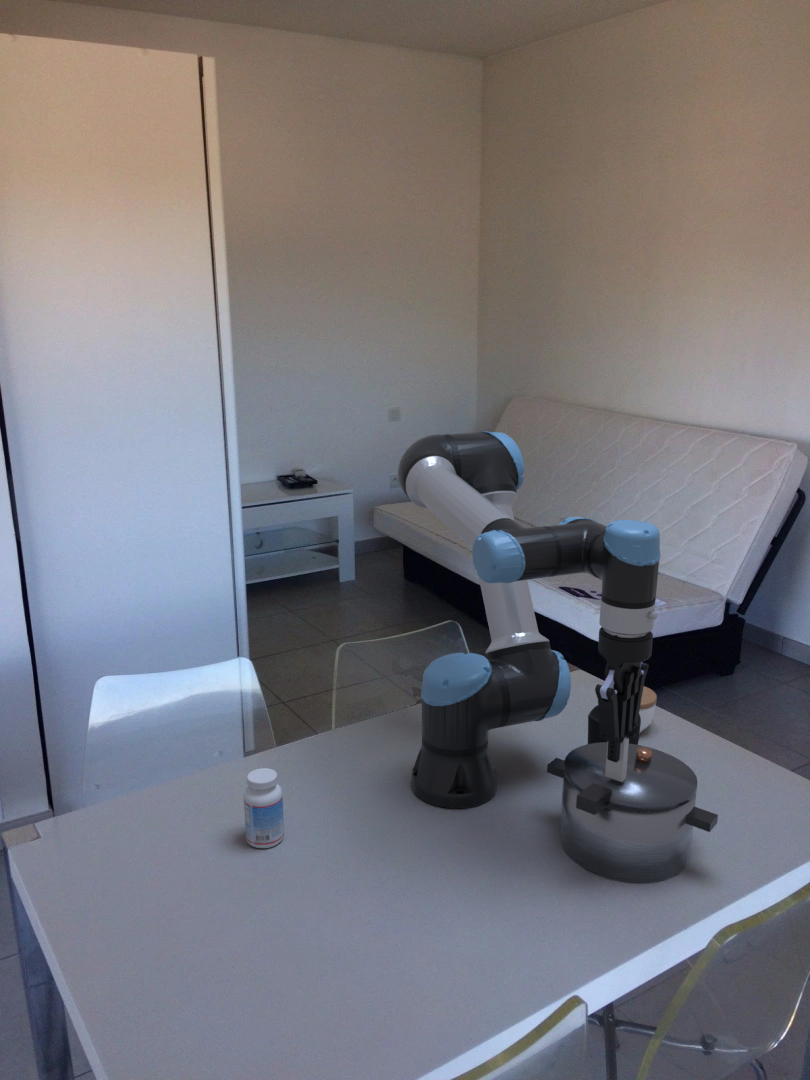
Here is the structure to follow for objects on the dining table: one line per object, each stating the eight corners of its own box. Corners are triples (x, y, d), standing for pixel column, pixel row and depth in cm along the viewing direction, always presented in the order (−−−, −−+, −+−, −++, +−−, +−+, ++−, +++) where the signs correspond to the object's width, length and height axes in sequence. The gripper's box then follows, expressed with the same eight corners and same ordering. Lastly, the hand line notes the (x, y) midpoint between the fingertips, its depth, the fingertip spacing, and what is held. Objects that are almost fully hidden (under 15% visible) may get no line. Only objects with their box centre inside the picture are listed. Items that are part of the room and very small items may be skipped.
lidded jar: (655, 743, 171) (659, 699, 169) (599, 738, 173) (602, 694, 171) (652, 719, 181) (655, 677, 179) (599, 714, 183) (601, 672, 181)
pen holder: (647, 770, 161) (651, 720, 158) (604, 780, 158) (608, 730, 155) (617, 747, 169) (620, 700, 167) (575, 756, 166) (578, 708, 163)
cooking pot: (517, 840, 140) (520, 778, 137) (577, 788, 155) (581, 732, 152) (682, 911, 123) (688, 842, 120) (731, 846, 138) (738, 783, 136)
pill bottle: (291, 833, 141) (289, 770, 139) (270, 853, 136) (267, 788, 133) (259, 824, 144) (257, 762, 141) (238, 844, 139) (234, 780, 136)
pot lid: (524, 789, 131) (526, 771, 130) (599, 738, 150) (601, 722, 149) (651, 838, 119) (653, 819, 118) (716, 776, 138) (718, 759, 137)
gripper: (630, 648, 119) (619, 804, 125) (669, 622, 128) (657, 768, 134) (580, 635, 123) (572, 786, 129) (621, 611, 133) (612, 752, 139)
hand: (615, 776), depth 132 cm, fingers closed
